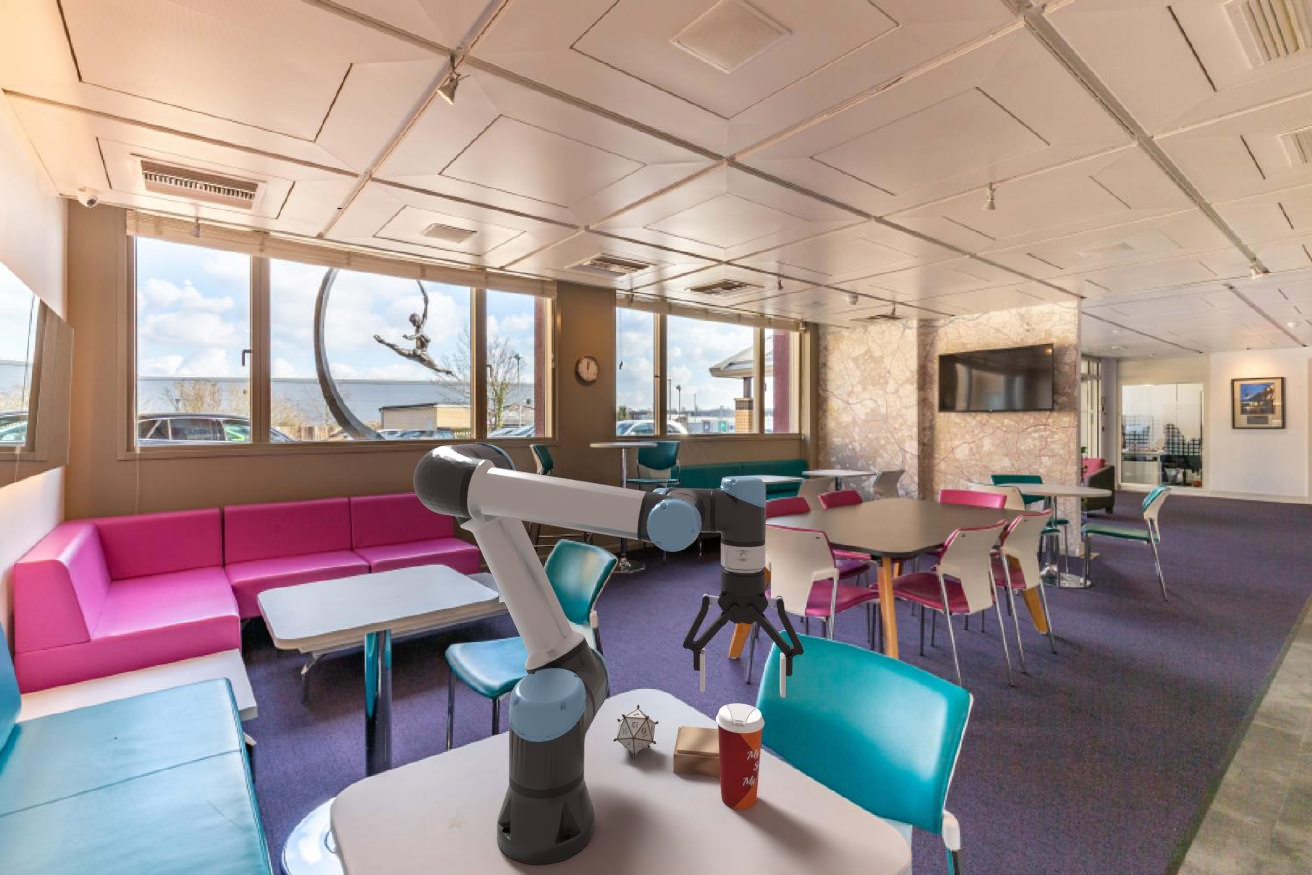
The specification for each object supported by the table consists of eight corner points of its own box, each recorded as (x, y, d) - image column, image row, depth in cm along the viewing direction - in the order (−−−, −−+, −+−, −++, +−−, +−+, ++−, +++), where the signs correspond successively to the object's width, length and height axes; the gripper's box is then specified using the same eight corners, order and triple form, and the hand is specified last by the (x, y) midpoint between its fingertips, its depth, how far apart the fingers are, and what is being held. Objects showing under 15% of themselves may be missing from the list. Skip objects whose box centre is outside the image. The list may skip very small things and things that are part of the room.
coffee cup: (762, 817, 99) (763, 727, 99) (712, 810, 101) (713, 721, 100) (763, 787, 107) (765, 703, 107) (717, 781, 109) (718, 699, 109)
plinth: (673, 772, 112) (673, 750, 111) (678, 743, 121) (678, 724, 121) (727, 777, 110) (728, 755, 110) (728, 748, 120) (729, 728, 120)
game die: (633, 764, 121) (637, 710, 126) (665, 762, 116) (669, 707, 122) (601, 756, 115) (607, 700, 121) (634, 754, 111) (639, 696, 116)
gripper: (667, 570, 101) (667, 696, 101) (821, 576, 98) (819, 706, 98) (672, 560, 108) (672, 677, 109) (815, 565, 105) (814, 686, 105)
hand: (742, 691), depth 103 cm, fingers open, 13 cm apart
